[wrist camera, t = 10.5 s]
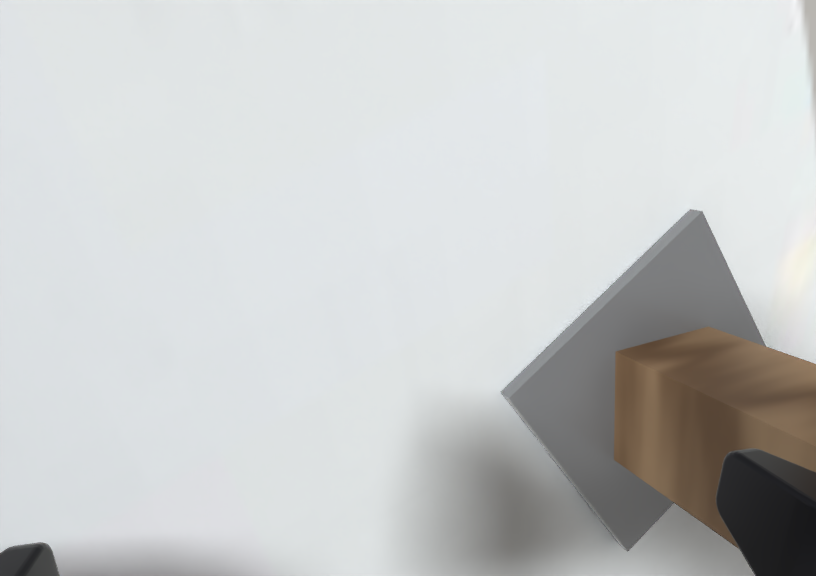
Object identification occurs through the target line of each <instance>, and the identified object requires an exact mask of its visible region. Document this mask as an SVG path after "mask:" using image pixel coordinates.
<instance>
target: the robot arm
mask: <svg viewBox="0 0 816 576" xmlns="http://www.w3.org/2000/svg"><path fill="white" fill-rule="evenodd" d="M716 505H717V509H718V512H719V514H720V517H721V518H722V520H723V522H724V523H725V525H726V527H727V529H728V530H729V532H730V534H731V535H732V537H733V539H734V540H735V542H736V544H737V545H738V547H739V549H740V551H741V552H742V554H743V556H744V557H745V559H746V561H747V562H748V564H749V566H750V568H751V569H752V571H753V573H754V574H755V576H816V472H814V471H812V470H809V469H807V468H804V467H802V466H799V465H797V464H795V463H792V462H790V461H787V460H785V459H782V458H780V457H777V456H775V455H773V454H770V453H768V452H765V451H763V450H760V449H755V448H750V449H743V450H735V451H731V452H729V453H728V454H727V455H726V456H725V458H724V461H723V465H722V469H721V474H720V479H719V483H718V488H717V493H716ZM0 576H59V572H58V569H57V565H56V562H55V558H54V555H53V552H52V550H51V548H50V546H49V545H48V544H46V543H41V542H40V543H32V544H25V545H17V546H13V547H9V548H7V549H6V550H4V551H3V552H1V553H0Z"/></svg>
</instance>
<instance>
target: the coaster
mask: <svg viewBox="0 0 816 576" xmlns="http://www.w3.org/2000/svg"><path fill="white" fill-rule="evenodd" d="M705 327H711V328H714V329H717V330H720V331H723V332H726V333H728V334H731V335H734V336H737V337H740V338H743V339H746V340H748V341H751V342H754V343H757V344H760V345H763V346H765V344H764V341H763V339H762V337H761V335H760V333H759V331H758V329H757V327H756V324H755V322H754V320H753V318H752V316H751V314H750V312H749V310H748V307H747V305H746V303H745V301H744V299H743V297H742V295H741V293H740V290H739V288H738V286H737V284H736V282H735V280H734V278H733V276H732V273H731V271H730V269H729V267H728V265H727V263H726V261H725V259H724V256H723V254H722V252H721V250H720V248H719V246H718V244H717V242H716V239H715V237H714V235H713V233H712V231H711V229H710V227H709V225H708V222H707V220H706V218H705V216H704V214H703V212H702V211H698V210H691V209H690V210H689V211H688V212H687V213H686V214H685V215H684V216H683V217H682V218H681V219H680V220H679V221H678V222H677V223H676V224H675V225H674V226H673V227H672V228H671V229H670V230H669V231H668V232H667V233H665V234H664V235H663V236H662V237H661V238H660V239H659V240H658V241H657V242H656V243H655V244H654V245H653V246H652V247H651V248H650V249H649V250H648V251H647V252H646V253H645V254H644V255H643V256H642V257H641V258H640V259H638V260H637V261H636V262H635V263H634V264H633V265H632V266H631V267H630V268H629V269H628V270H627V271H626V272H625V273H624V274H623V275H622V276H621V277H620V278H619V279H618V280H617V281H616V282H615V283H614V284H613V285H611V286H610V287H609V288H608V289H607V290H606V291H605V292H604V293H603V294H602V295H601V296H600V297H599V298H598V299H597V300H596V301H595V302H594V303H593V304H592V305H591V306H590V307H589V308H588V309H587V310H586V311H584V312H583V313H582V314H581V315H580V316H579V317H578V318H577V319H576V320H575V321H574V322H573V323H572V324H571V325H570V326H569V327H568V328H567V329H566V330H565V331H564V332H563V333H562V334H561V335H560V336H559V337H557V338H556V339H555V340H554V341H553V342H552V343H551V344H550V345H549V346H548V347H547V348H546V349H545V350H544V351H543V352H542V353H541V354H540V355H539V356H538V357H537V358H536V359H535V360H534V361H533V362H532V363H530V364H529V365H528V366H527V367H526V368H525V369H524V370H523V371H522V372H521V373H520V374H519V375H518V376H517V377H516V378H515V379H514V380H513V381H512V382H511V383H510V384H509V385H508V386H507V387H506V388H505V389H504V390H502V391H501V393H502V395H503V396H504V397H505V399H506V400H507V401H508V402H509V404H510V405H511V406H512V408H513V409H514V410H515V411H516V413H517V414H518V415H519V417H520V418H521V419H522V420H523V422H524V423H525V424H526V425H527V427H528V428H529V429H530V431H531V432H532V433H533V434H534V436H535V437H536V438H537V440H538V441H539V442H540V443H541V445H542V446H543V447H544V449H545V450H546V451H547V452H548V454H549V455H550V456H551V457H552V459H553V460H554V461H555V463H556V464H557V465H558V466H559V468H560V469H561V470H562V472H563V473H564V474H565V475H566V477H567V478H568V479H569V481H570V482H571V483H572V484H573V486H574V487H575V488H576V490H577V491H578V492H579V493H580V495H581V496H582V497H583V498H584V500H585V501H586V502H587V504H588V505H589V506H590V507H591V509H592V510H593V511H594V513H595V514H596V515H597V516H598V518H599V519H600V520H601V522H602V523H603V524H604V525H605V527H606V528H607V529H608V531H609V532H610V533H611V534H612V536H613V537H614V538H615V539H616V541H617V542H618V543H619V544H620V545H621V546H622V547H623V548H624V549H625V550H627V551H629V550H630V549H631V548H632V547H633V545H634V544H635V543H636V542H637V541H638V540H639V539H640V538H641V537H642V536H643V535H644V534H645V533H646V532H647V531H648V530H649V529H650V528H651V526H652V525H653V524H654V523H655V522H656V521H657V520H658V519H659V518H660V517H661V516H662V515H663V514H664V513H665V512H666V511H667V510H668V509H669V507H670V506H671V505H672V504H673V503H674V502H673V501H671V500H670V499H668V498H667V497H666V496H664V495H663V494H661V493H660V492H659V491H657V490H656V489H654V488H653V487H651V486H650V485H649V484H647V483H646V482H644V481H643V480H642V479H640V478H639V477H637V476H636V475H635V474H633V473H632V472H630V471H629V470H628V469H626V468H625V467H623V466H622V465H621V464H619V463H618V462H616V461H615V460H614V421H615V353H616V351H619V350H623V349H627V348H630V347H634V346H638V345H642V344H645V343H649V342H653V341H656V340H660V339H664V338H668V337H671V336H675V335H679V334H683V333H686V332H690V331H694V330H697V329H701V328H705ZM765 347H766V346H765Z"/></svg>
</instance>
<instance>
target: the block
mask: <svg viewBox="0 0 816 576" xmlns="http://www.w3.org/2000/svg"><path fill="white" fill-rule="evenodd" d="M750 448H755V449H760V450H763V451H765V452H768V453H770V454H773V455H775V456H777V457H780V458H782V459H785V460H787V461H790V462H792V463H795V464H797V465H799V466H802V467H804V468H807V469H809V470H812V471H814V472H816V364H814V363H811V362H808V361H805V360H802V359H800V358H797V357H794V356H791V355H788V354H785V353H783V352H780V351H777V350H774V349H771V348H768V347H765V346H763V345H760V344H757V343H754V342H751V341H748V340H746V339H743V338H740V337H737V336H734V335H731V334H728V333H726V332H723V331H720V330H717V329H714V328H711V327H705V328H701V329H697V330H694V331H690V332H686V333H683V334H679V335H675V336H671V337H668V338H664V339H660V340H656V341H653V342H649V343H645V344H642V345H638V346H634V347H630V348H627V349H623V350H619V351H616V353H615V421H614V460H615V461H616V462H618V463H619V464H621V465H622V466H623V467H625V468H626V469H628V470H629V471H630V472H632V473H633V474H635V475H636V476H637V477H639V478H640V479H642V480H643V481H644V482H646V483H647V484H649V485H650V486H651V487H653V488H654V489H656V490H657V491H659V492H660V493H661V494H663V495H664V496H666V497H667V498H668V499H670V500H671V501H673V502H674V503H675V504H677V505H678V506H680V507H681V508H682V509H684V510H685V511H687V512H688V513H689V514H691V515H692V516H694V517H695V518H696V519H698V520H699V521H701V522H702V523H704V524H705V525H706V526H708V527H709V528H711V529H712V530H713V531H715V532H716V533H718V534H719V535H720V536H722V537H723V538H725V539H726V540H727V541H729V542H730V543H732V544H733V545H734V546H736V547H737V548H739V547H738V545H737V544H736V542H735V540H734V539H733V537H732V535H731V534H730V532H729V530H728V529H727V527H726V525H725V523H724V522H723V520H722V518H721V517H720V514H719V512H718V509H717V505H716V493H717V488H718V483H719V479H720V474H721V469H722V465H723V461H724V458H725V456H726V455H727V454H728V453H729V452H731V451H735V450H743V449H750Z"/></svg>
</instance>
